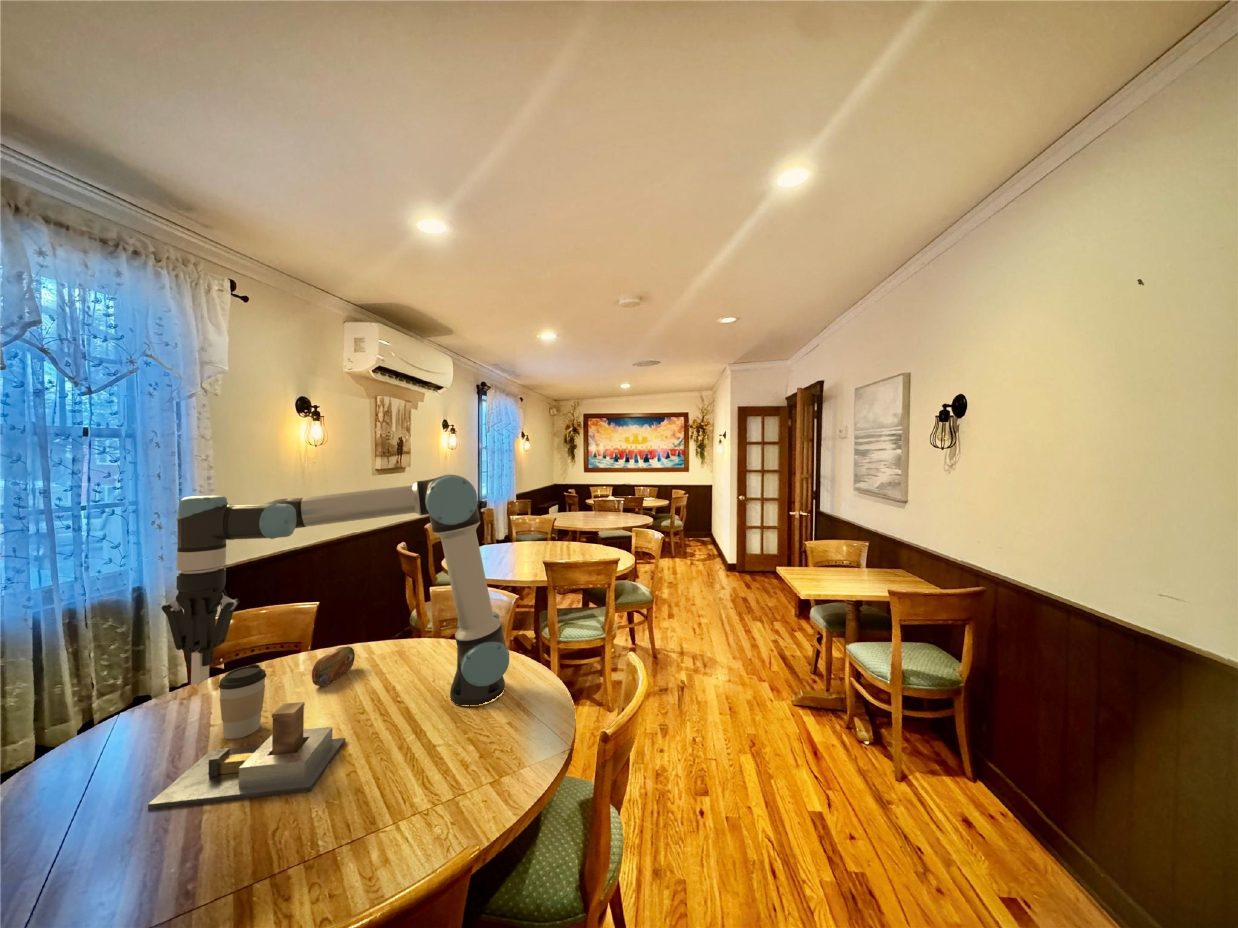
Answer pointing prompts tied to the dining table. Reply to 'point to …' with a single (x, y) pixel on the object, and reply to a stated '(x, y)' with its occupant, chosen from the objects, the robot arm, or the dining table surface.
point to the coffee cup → (242, 700)
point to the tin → (333, 666)
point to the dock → (255, 773)
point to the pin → (226, 762)
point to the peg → (288, 728)
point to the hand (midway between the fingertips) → (200, 680)
